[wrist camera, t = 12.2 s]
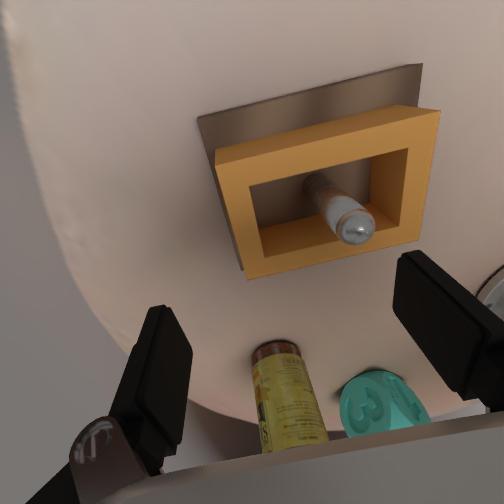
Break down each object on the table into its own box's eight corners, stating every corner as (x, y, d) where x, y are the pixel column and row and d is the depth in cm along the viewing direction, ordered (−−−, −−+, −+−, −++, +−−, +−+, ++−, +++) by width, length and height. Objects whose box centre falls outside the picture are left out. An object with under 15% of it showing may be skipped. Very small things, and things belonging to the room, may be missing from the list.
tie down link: (396, 104, 17) (440, 110, 14) (387, 215, 21) (418, 240, 18) (215, 149, 17) (214, 165, 14) (242, 249, 22) (247, 280, 18)
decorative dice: (406, 378, 39) (445, 440, 32) (366, 405, 42) (394, 466, 35) (371, 363, 36) (406, 429, 29) (330, 394, 39) (354, 459, 32)
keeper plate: (407, 64, 17) (556, 51, 10) (391, 225, 24) (472, 291, 16) (198, 116, 17) (183, 144, 10) (240, 260, 24) (250, 342, 17)
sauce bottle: (242, 349, 31) (271, 661, 14) (292, 331, 30) (384, 638, 14) (261, 377, 34) (303, 653, 18) (307, 362, 34) (394, 635, 17)
